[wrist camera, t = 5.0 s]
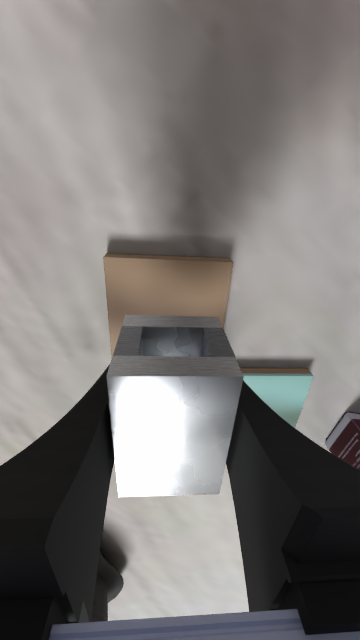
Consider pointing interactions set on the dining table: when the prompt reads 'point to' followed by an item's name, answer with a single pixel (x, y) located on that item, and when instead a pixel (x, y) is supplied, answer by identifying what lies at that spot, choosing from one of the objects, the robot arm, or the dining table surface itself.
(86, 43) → the dining table surface
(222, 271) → the stand
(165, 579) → the dining table surface
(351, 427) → the supplement box
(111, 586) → the casserole
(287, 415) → the stand
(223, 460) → the box
